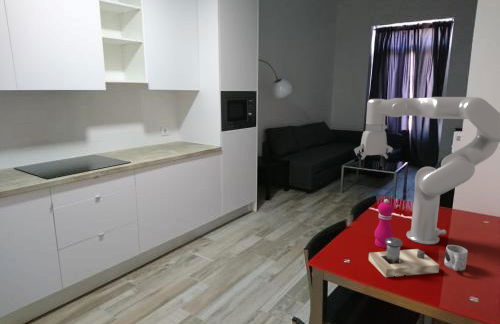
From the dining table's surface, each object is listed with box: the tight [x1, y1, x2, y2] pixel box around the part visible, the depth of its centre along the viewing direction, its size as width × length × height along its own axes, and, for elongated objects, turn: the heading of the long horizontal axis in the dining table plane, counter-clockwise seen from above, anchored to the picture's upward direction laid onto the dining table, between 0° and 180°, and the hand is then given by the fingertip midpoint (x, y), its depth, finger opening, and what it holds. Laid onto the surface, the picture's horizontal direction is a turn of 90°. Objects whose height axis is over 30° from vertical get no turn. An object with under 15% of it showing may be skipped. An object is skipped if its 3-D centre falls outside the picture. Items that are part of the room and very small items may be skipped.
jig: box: [368, 248, 440, 278], centre depth 119 cm, size 20×12×5 cm, turn 98°
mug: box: [443, 244, 469, 272], centre depth 117 cm, size 10×7×7 cm, turn 150°
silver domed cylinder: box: [386, 236, 403, 264], centre depth 118 cm, size 5×5×10 cm
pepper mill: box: [374, 198, 395, 249], centre depth 134 cm, size 7×7×20 cm
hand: (372, 167), depth 142 cm, fingers open, 9 cm apart
